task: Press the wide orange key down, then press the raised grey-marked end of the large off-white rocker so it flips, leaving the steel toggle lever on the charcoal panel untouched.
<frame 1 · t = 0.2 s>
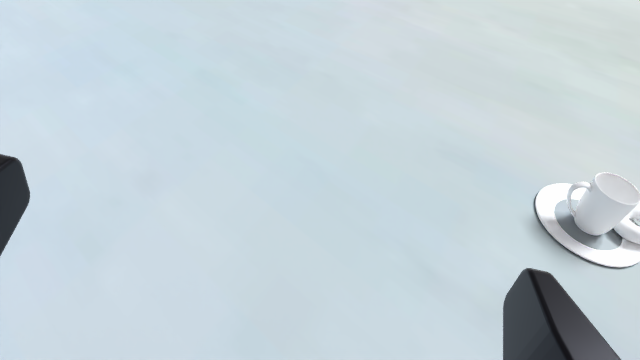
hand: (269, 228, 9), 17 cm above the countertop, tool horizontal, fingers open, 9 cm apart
teacup and saucer: (616, 261, 35), on the countertop
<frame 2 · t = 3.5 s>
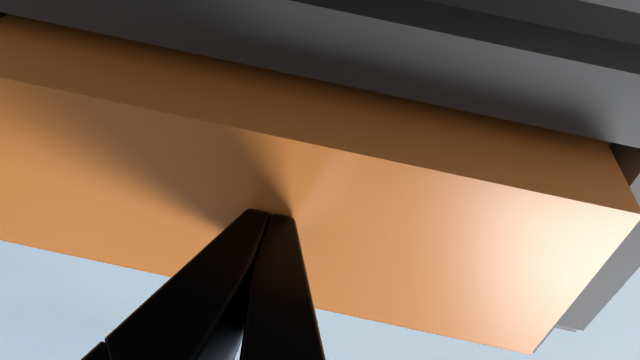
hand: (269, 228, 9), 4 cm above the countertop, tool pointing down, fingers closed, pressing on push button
push button: (283, 192, 10), point 3 cm above the countertop, slide at 1.2 cm, touching gripper
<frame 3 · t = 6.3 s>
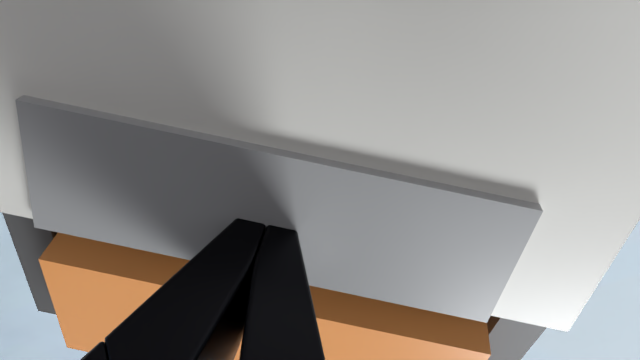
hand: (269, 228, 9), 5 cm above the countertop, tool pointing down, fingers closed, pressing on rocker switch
push button: (266, 318, 14), point 3 cm above the countertop, slide at 1.2 cm
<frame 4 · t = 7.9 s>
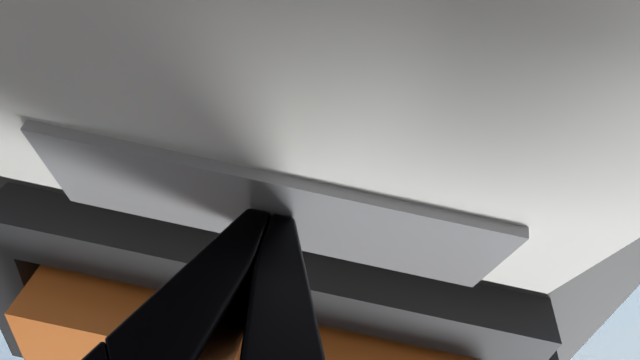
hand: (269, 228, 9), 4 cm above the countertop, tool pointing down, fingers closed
rocker switch: (293, 24, 6), point 4 cm above the countertop, hinge at 19.3°, touching gripper
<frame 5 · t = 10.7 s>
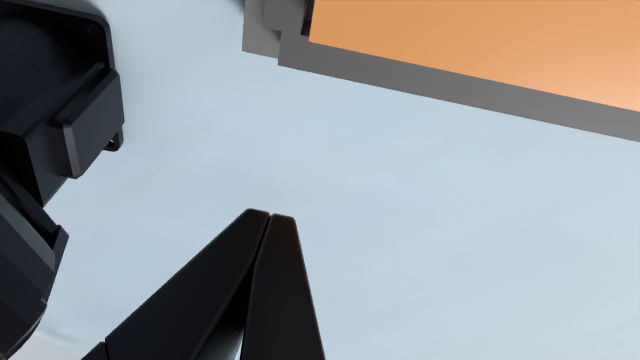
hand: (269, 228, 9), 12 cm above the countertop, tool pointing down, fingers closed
push button: (515, 1, 14), point 3 cm above the countertop, slide at 1.2 cm
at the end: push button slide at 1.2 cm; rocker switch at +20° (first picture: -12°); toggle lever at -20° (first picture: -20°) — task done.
